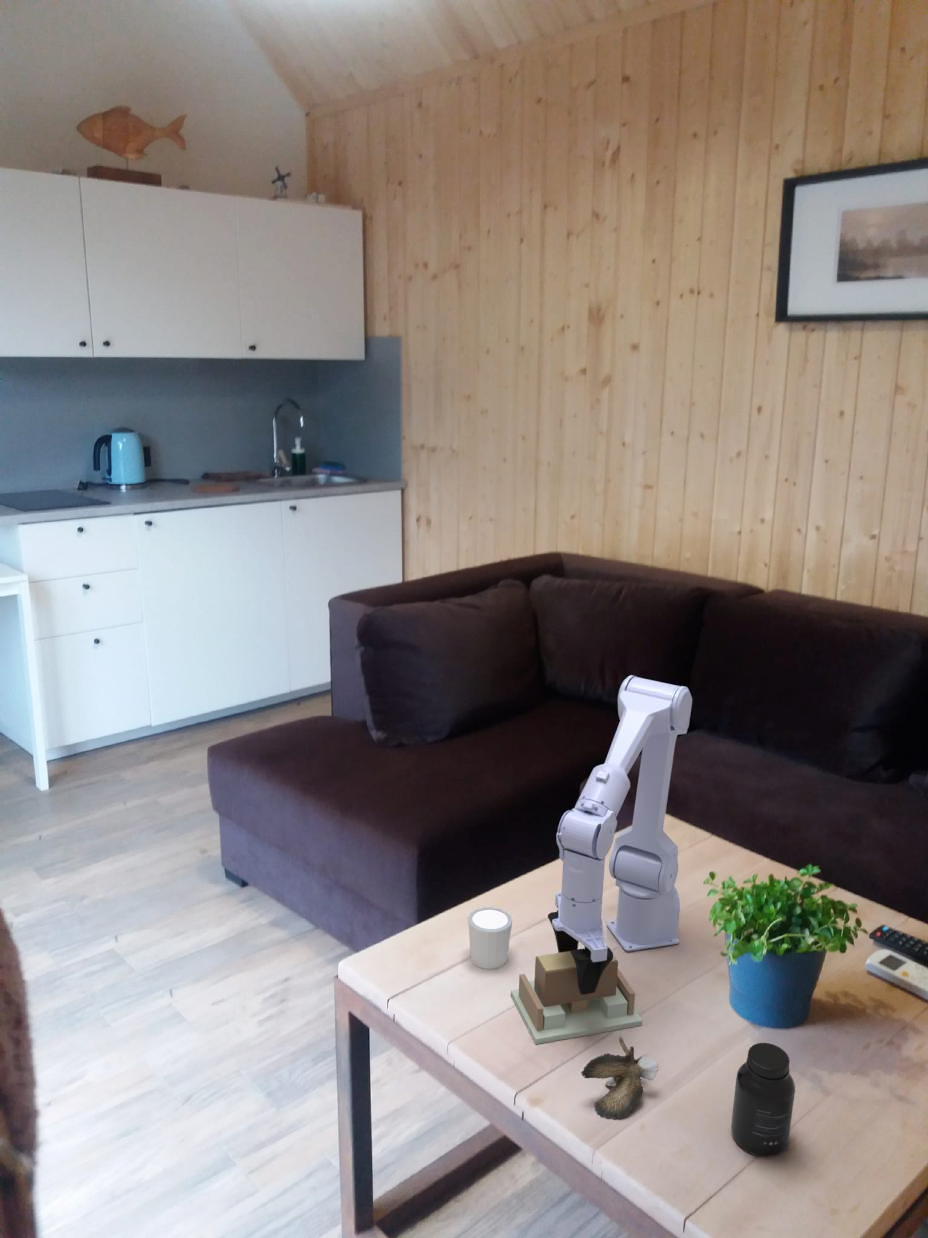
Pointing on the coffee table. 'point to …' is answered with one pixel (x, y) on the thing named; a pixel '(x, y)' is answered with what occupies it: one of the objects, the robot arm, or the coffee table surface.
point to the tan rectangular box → (568, 980)
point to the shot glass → (489, 937)
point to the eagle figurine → (620, 1080)
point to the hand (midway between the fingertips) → (577, 976)
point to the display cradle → (575, 1013)
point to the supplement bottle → (763, 1101)
